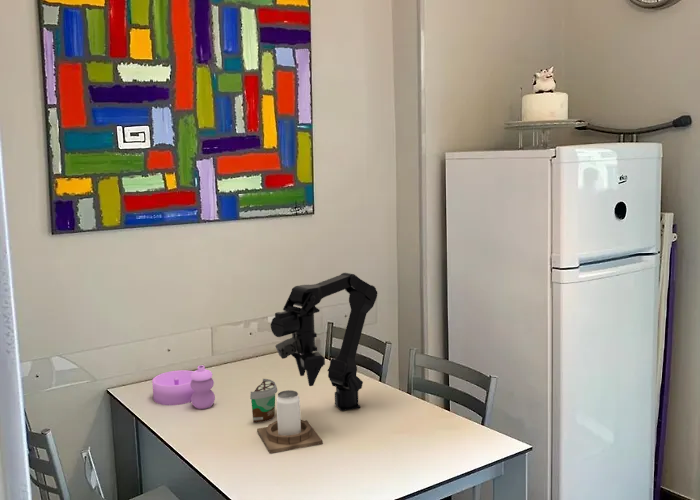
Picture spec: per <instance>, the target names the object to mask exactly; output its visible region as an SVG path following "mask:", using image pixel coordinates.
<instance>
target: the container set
mask: <svg viewBox="0 0 700 500" xmlns="http://www.w3.org/2000/svg"><path fill="white" fill-rule="evenodd" d="M151 383H152V395H153V401H154V402H155V403H156V404H158V405H162V406H177V405H178V406H179V405H183V404H188V403H191V404H192V406H193V407H195V409H198V410H205V409H209V408H211V407H212V405H213V404H214V402H215V400H216V397H215V396H216V395H215V393H214V391H213V390H212V388H213V387H214V384H215V382H214V379H213V373H212V371H211V370H209V369H206V367H205V365H203V364H202V365H198V366H197V369H195V371H193V370H187V369H184V370H181V369H178V370H170V371H166V372H162V373H160V374H158V375H156V376H154V377H153V378H152V381H151Z"/></svg>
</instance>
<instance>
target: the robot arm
mask: <svg viewBox="0 0 700 500" xmlns="http://www.w3.org/2000/svg"><path fill="white" fill-rule="evenodd" d="M341 291H345V292H346V293H348V294H349V295H348V296H349V297H348V303H349V306H350V312H349V317H348V321H347V325H346V328H345V331H344V332H345V333H344V336H343V339H342V341H341V342H342V343H341V346H340V347H341V348H340V351H339V353H338V355H337V357H335V358H331V359H330V361H329V366H328V368H327V372H328V374H327V376H328V379H329V381H330V382H331V385H332V387H334V388H335V392H334V405H335V406H336V407H337V408H338V409H339V411H342V412H344V411H348V410H354V409H360V408H361V405H360V404H359V390H361V389H362V388H363V383H364V381H362V379H360V378H359V376H357V372H358V367H357V362H356V354H357V352H358V348H359V343H360V340H361V336H362V332H363V329H364V324H365V320H366V317H367V314H368V313H369V312H370V311H371V310H372V309H373V308H374V306H375V303H376V300H377V298H378V291H377V288H376V286H374V285H372V284H370V283H368V282H367V281H365V280H362V279H361V278H360V277H358V276H357V275H356V274H355V273H354V274H353V273H351V272H350V273H349V272H342V273H340V274H339V275H336V276H334V277H330V278H328V279H326V280H322V281H319V282H317V283H314V284H301V285H295V286H294V287H293V288H292V289H291V292H290V294H289V296H288V298H287V300H286V302H285V304H284V306H283V307H282V310H283V311H278V312H275V313H274V317H273V318H272V319H271V321H270V328H271V332H272V334H273V335H274V336H275V337H276V338H281V337H284V336H285V337H286V336H289V335H291V337H289V338H288V339H285V340H283V341H281V342H279V343H277V344H276V345H275V348H276V352H277V353H278V355H279V357H280V358H281V359H282V360H283V359H286V358H288V357H289V356H292V357H293V358H294V359H295V362H296V365H297V370H298V373H299V376H300V377H303V376H305V373H306V378H307V382H308V385H309V386H308V387H313V386H314V384H315V382H316V380H317V377H318V375H319V373H320V372H321V370H322V367H324V366H325V365H326V358H325V357H324V356H323V355H322V354H321V353H320V352H318V347H317V346H316V338H317V337H318V336H317V334H318V333H316V332H315V314H316V313H320V311H321V310H320V308H318V307H317V305H318V304H320V302H321V301H322V300H323V299H324V298H326V297H328V296H332V295H334V294H337V293H339V292H341Z"/></svg>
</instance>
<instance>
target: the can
mask: <svg viewBox="0 0 700 500" xmlns="http://www.w3.org/2000/svg"><path fill="white" fill-rule="evenodd" d="M300 401H301V400H300V396H299V392H298V391H296V390H292V389H290V390H289V389H287V390H282V391H280V392H278V393H277V398H276V414H277V416H276V418H277V420H276V421H278V435H288V436H289V435H295V434H299V433H301V420H302V417H301V403H300Z"/></svg>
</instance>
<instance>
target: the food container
mask: <svg viewBox="0 0 700 500" xmlns="http://www.w3.org/2000/svg"><path fill="white" fill-rule="evenodd" d="M277 392H278V387H277V384H276V382H275V381H274V380H272V379H269V378H262V382H261V383H260V384H259V385H258V386H257V387H255V389H254V391H250V393H249V394H250V396H249V397H250V400H251V403H250V404H251V413H252V421H253V423H256V424H257V423H264V422H268V421H271V420H273V418H275V416H276V415H275V414H276V413H275V412H276V393H277Z"/></svg>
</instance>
